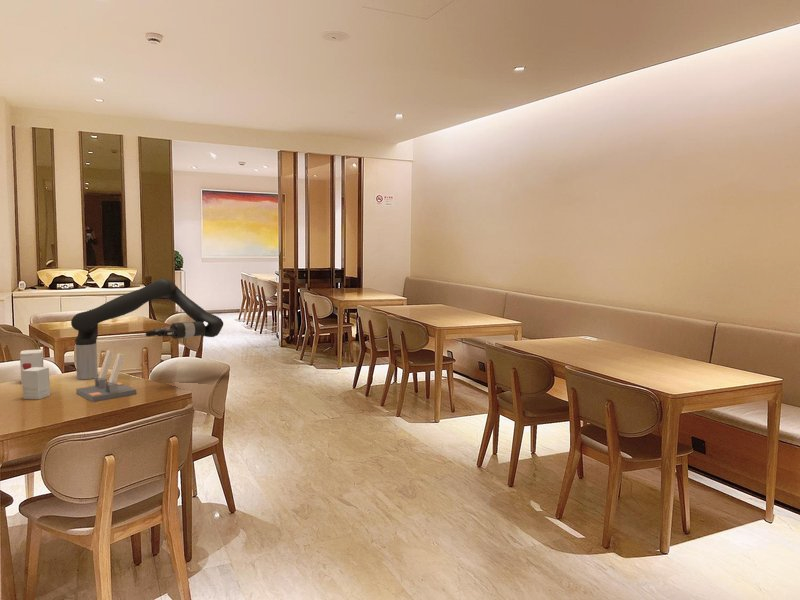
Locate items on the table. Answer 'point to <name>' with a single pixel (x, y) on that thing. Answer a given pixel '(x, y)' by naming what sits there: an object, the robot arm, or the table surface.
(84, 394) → the switch base
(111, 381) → the lever near
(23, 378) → the supplement box
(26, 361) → the supplement box
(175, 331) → the robot arm
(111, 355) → the lever far
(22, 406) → the table surface
